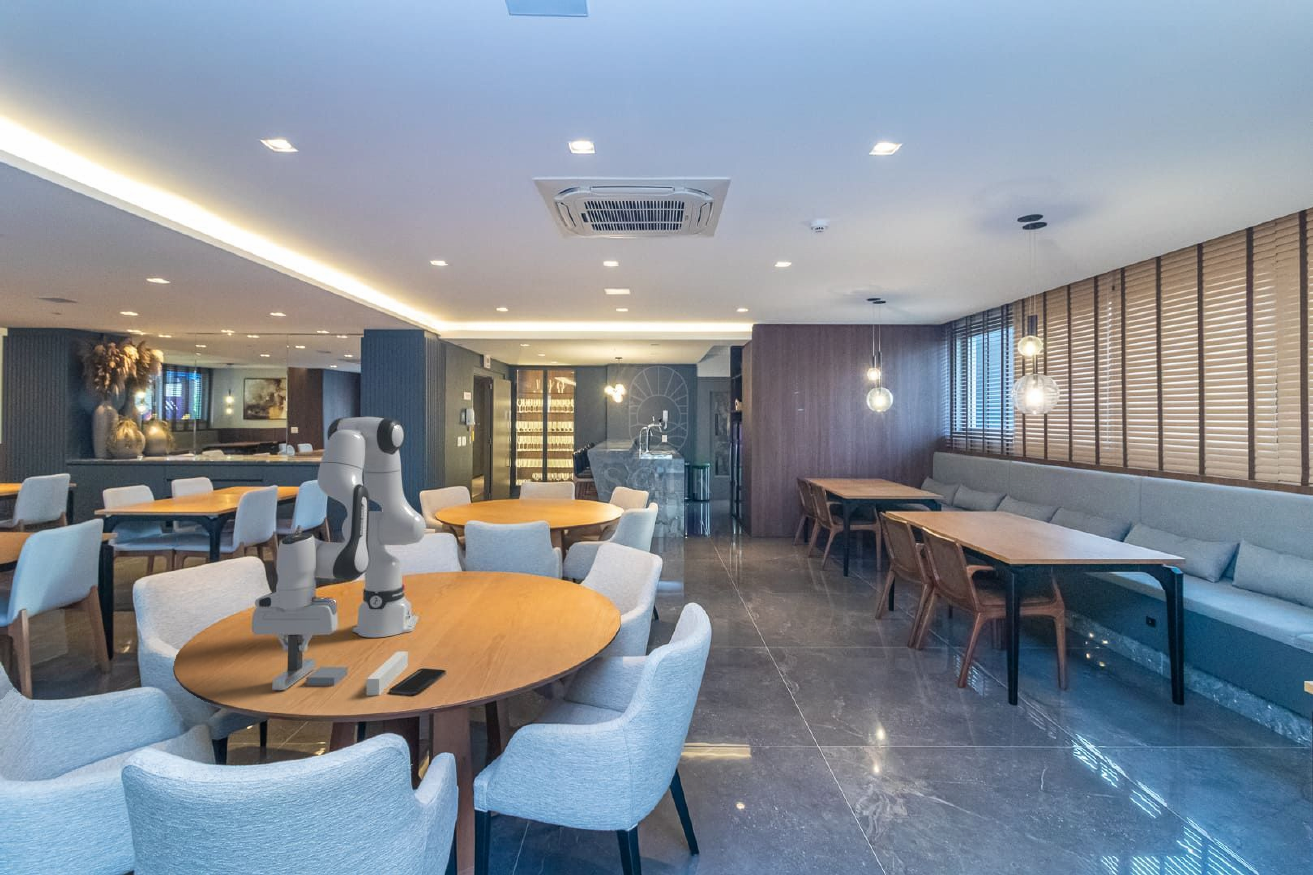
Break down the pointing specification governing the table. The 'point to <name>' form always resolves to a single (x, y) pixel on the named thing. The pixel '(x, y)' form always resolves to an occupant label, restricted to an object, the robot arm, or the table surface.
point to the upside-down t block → (293, 665)
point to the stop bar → (386, 673)
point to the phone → (417, 682)
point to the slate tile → (326, 676)
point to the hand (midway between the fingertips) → (295, 650)
